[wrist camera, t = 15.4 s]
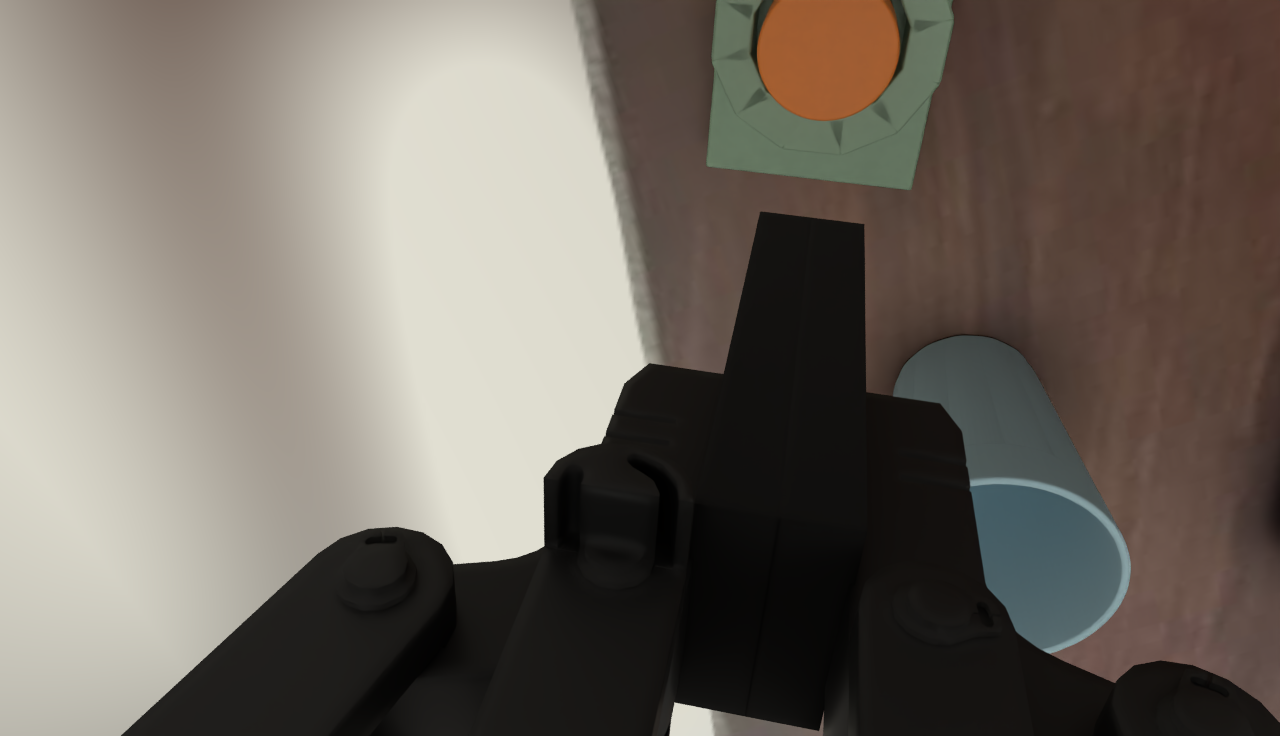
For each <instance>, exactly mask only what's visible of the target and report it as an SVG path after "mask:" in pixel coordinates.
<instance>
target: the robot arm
mask: <svg viewBox="0 0 1280 736" xmlns="http://www.w3.org/2000/svg"><path fill="white" fill-rule="evenodd" d="M966 462H967V460H966V454H965V447H964V441H963V434H962V431H961V429H960V428H959V427H958V426H957V424H956V423H955V422H954V420H953V419H952V418H951V417H950V415H949V414H948V413H947V411H946V410H945V409H944V408H943V406H942V405H941V404H940V403H935V402H928V401H922V400H915V399H908V398H901V397H894V396H888V395H881V394H874V393H867V392H866V345H865V247H864V224H858V223H850V222H842V221H834V220H826V219H817V218H809V217H801V216H793V215H785V214H777V213H768V212H760V215H759V220H758V224H757V229H756V233H755V238H754V242H753V246H752V251H751V255H750V260H749V264H748V269H747V273H746V277H745V282H744V286H743V291H742V295H741V300H740V304H739V309H738V313H737V317H736V322H735V326H734V331H733V335H732V340H731V344H730V348H729V353H728V357H727V362H726V366H725V371H724V374H718V373H712V372H705V371H698V370H691V369H684V368H678V367H671V366H664V365H657V364H650V363H649V364H648V365H647V366H646V367H644V368H643V369H642V370H641V371H639V372H638V373H637V374H636V375H634V376H633V377H632V378H631V379H630V380H628V381H627V382H626V383H625V384H624V386H623V389H622V392H621V394H620V397H619V399H618V402H617V405H616V407H615V411H614V415H612V418H611V420H610V423H609V425H608V428H607V431H606V436H605V437H604V438H603V441H602V443H601V444H599V445H594V446H590V447H585V448H581V449H578V450H576V451H574V452H572V453H570V454H568V455H567V456H565V457H563V458H561V459H559V460H558V461H556V463H555V464H554V465H553V467H552V468H551V469H550V470H549V472H548V473H547V474H546V476H545V477H544V542H545V546H544V547H542V548H541V549H539V550H537V551H535V552H532V553H529V554H527V555H523V556H521V557H518V558H512V559H506V560H500V561H492V562H479V563H466V564H453V562H452V560H451V558H450V557H449V555H448V554H447V552H446V550H445V549H444V547H443V545H442V544H440V543H439V542H437V541H435V540H434V539H432V538H431V537H429V536H428V535H426V534H424V533H423V532H418V531H413V530H409V529H404V528H399V527H389V528H375V529H367V530H364V531H361V532H358V533H355V534H352V535H349V536H346V537H343V538H341V539H339V540H338V541H336V542H335V543H333V544H332V545H330V546H329V547H327V548H326V549H324V550H323V551H321V552H320V553H318V554H317V555H316V556H315V557H314V558H313V559H312V560H311V561H310V562H308V563H307V564H306V565H305V566H304V567H303V568H302V569H301V570H300V571H299V572H298V573H297V574H295V575H294V576H293V577H292V578H291V579H290V580H289V581H288V582H287V583H286V584H285V585H283V586H282V588H280V589H279V590H278V591H277V592H276V593H275V594H274V595H273V596H272V597H271V598H269V599H268V600H267V601H266V602H265V603H264V604H263V605H262V606H261V607H260V608H259V609H258V610H256V612H254V613H253V614H252V615H251V616H250V617H249V618H248V619H247V620H246V621H245V622H243V623H242V625H240V626H239V627H238V628H237V629H236V630H235V631H234V632H233V633H232V634H231V635H229V636H228V637H227V638H226V639H225V640H224V641H223V642H222V643H221V644H220V645H219V646H217V647H216V648H215V649H214V650H213V651H212V652H211V653H210V654H209V655H208V656H207V657H206V658H204V659H203V660H202V661H201V662H200V663H199V664H198V665H197V666H196V667H195V668H194V669H193V670H192V671H190V672H189V673H188V674H187V675H186V676H185V677H184V678H183V679H182V680H181V681H180V682H179V683H178V684H176V685H175V686H174V687H173V688H172V689H171V690H170V691H169V692H168V693H167V694H166V695H165V696H163V697H162V698H161V699H160V700H159V701H158V702H157V703H156V704H155V705H154V706H153V707H151V708H150V709H149V710H148V711H147V712H146V713H145V714H144V715H143V716H142V717H141V718H140V719H139V720H137V721H136V722H135V723H134V724H133V725H132V726H131V727H130V728H129V729H128V730H127V731H126V732H124V733H123V734H122V735H121V736H669V734H670V724H671V717H672V712H673V707H674V702H675V703H680V704H685V705H691V706H696V707H701V708H706V709H711V710H716V711H721V712H726V713H731V714H736V715H741V716H746V717H751V718H756V719H761V720H766V721H771V722H777V723H782V724H787V725H792V726H797V727H802V728H807V729H812V730H817V731H819V729H820V725H821V721H822V717H823V712H824V728H823V736H1280V723H1279V722H1278V721H1277V719H1276V718H1275V717H1274V716H1273V715H1272V714H1271V713H1270V712H1269V711H1268V710H1267V709H1266V708H1265V707H1264V706H1263V704H1262V703H1261V702H1260V701H1258V700H1257V699H1255V698H1254V697H1252V696H1251V695H1249V694H1248V693H1247V692H1245V691H1244V690H1242V689H1241V688H1239V687H1238V686H1236V685H1235V684H1233V683H1232V682H1230V681H1229V680H1227V679H1225V678H1223V677H1220V676H1218V675H1215V674H1213V673H1210V672H1208V671H1205V670H1203V669H1201V668H1198V667H1196V666H1193V665H1187V664H1181V663H1174V662H1167V661H1155V662H1150V663H1145V664H1139V665H1134V666H1133V667H1132V668H1131V669H1129V670H1128V671H1127V672H1126V673H1125V674H1123V675H1122V676H1121V677H1120V678H1119V679H1118V680H1117V681H1116V683H1113V682H1111V681H1109V680H1106V679H1104V678H1102V677H1099V676H1097V675H1095V674H1092V673H1090V672H1088V671H1085V670H1083V669H1081V668H1078V667H1076V666H1074V665H1071V664H1069V663H1067V662H1064V661H1062V660H1060V659H1058V658H1056V657H1054V656H1052V655H1050V654H1049V653H1047V652H1045V651H1043V650H1041V649H1039V648H1037V647H1036V646H1035V645H1033V644H1032V643H1031V642H1029V641H1028V640H1026V639H1025V638H1024V637H1022V636H1021V635H1020V634H1018V633H1017V632H1016V631H1015V628H1014V626H1013V623H1012V621H1011V619H1010V616H1009V614H1008V612H1007V609H1006V607H1005V606H1004V605H1003V604H1002V603H1001V602H1000V601H999V599H998V598H997V597H996V596H995V595H994V594H993V593H992V592H991V591H990V590H989V589H988V588H987V586H986V583H985V576H984V570H983V563H982V557H981V550H980V544H979V538H978V531H977V525H976V518H975V512H974V505H973V499H972V492H970V479H969V473H968V467H966Z"/></svg>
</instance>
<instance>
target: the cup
mask: <svg viewBox="0 0 1280 736" xmlns="http://www.w3.org/2000/svg"><path fill="white" fill-rule="evenodd" d="M893 396H894V397H901V398H908V399H915V400H922V401H928V402H935V403H940V404H941V405H942V406H943V408H944V409H945V410H946V411H947V413H948V414H949V415H950V417H951V418H952V419H953V420H954V422H955V423H956V424H957V426H958V427H959V428H960V429H961V431H962V434H963V441H964V447H965V454H966V460H967V462H966V467H968V473H969V479H970V492H972V499H973V505H974V512H975V518H976V525H977V531H978V538H979V544H980V550H981V557H982V563H983V570H984V576H985V583H986V586H987V588H988V589H989V590H990V591H991V592H992V593H993V594H994V595H995V596H996V597H997V598H998V599H999V601H1000V602H1001V603H1002V604H1003V605H1004V606H1005V607H1006V609H1007V612H1008V614H1009V616H1010V619H1011V621H1012V623H1013V626H1014V628H1015V631H1016V632H1017V633H1018V634H1020V635H1021V636H1022V637H1024V638H1025V639H1026V640H1028V641H1029V642H1031V643H1032V644H1033V645H1035V646H1036V647H1037V648H1039V649H1041V650H1043V651H1045V652H1047V653H1049V654H1050V653H1053V652H1056V651H1059V650H1061V649H1064V648H1066V647H1069V646H1071V645H1074V644H1076V643H1077V642H1079V641H1081V640H1083V639H1085V638H1086V637H1088V636H1089V635H1091V634H1092V633H1094V632H1095V631H1096V630H1098V629H1099V628H1100V627H1101V626H1102V625H1103V624H1105V623H1106V622H1107V621H1108V620H1109V618H1110V617H1111V616H1112V615H1113V614H1114V613H1115V611H1116V610H1117V609H1118V607H1119V606H1120V604H1121V602H1122V600H1123V598H1124V596H1125V594H1126V591H1127V589H1128V585H1129V580H1130V572H1131V564H1130V556H1129V552H1128V549H1127V545H1126V543H1125V540H1124V538H1123V536H1122V534H1121V532H1120V530H1119V528H1118V527H1117V525H1116V523H1115V521H1114V519H1113V517H1112V515H1111V513H1110V512H1109V510H1108V508H1107V506H1106V504H1105V502H1104V500H1103V499H1102V497H1101V495H1100V493H1099V492H1098V490H1097V488H1096V486H1095V484H1094V482H1093V480H1092V479H1091V477H1090V475H1089V473H1088V471H1087V469H1086V467H1085V465H1084V463H1083V462H1082V460H1081V458H1080V456H1079V454H1078V452H1077V450H1076V448H1075V446H1074V445H1073V443H1072V441H1071V439H1070V437H1069V435H1068V433H1067V431H1066V429H1065V428H1064V426H1063V424H1062V422H1061V420H1060V418H1059V416H1058V414H1057V413H1056V411H1055V409H1054V407H1053V405H1052V403H1051V401H1050V399H1049V397H1048V396H1047V394H1046V392H1045V390H1044V388H1043V386H1042V384H1041V382H1040V381H1039V379H1038V377H1037V375H1036V373H1035V372H1034V370H1033V369H1032V367H1031V366H1030V365H1029V364H1028V362H1027V361H1026V359H1025V358H1024V357H1023V355H1022V354H1021V353H1020V352H1018V351H1017V350H1016V349H1014V348H1012V347H1010V346H1009V345H1007V344H1005V343H1003V342H1000V341H998V340H996V339H993V338H989V337H983V336H968V335H962V336H954V337H950V338H946V339H943V340H940V341H937V342H934V343H932V344H929V345H927V346H926V347H924V348H923V349H921V350H920V351H919V352H917V353H916V354H915V355H914V356H913V357H912V358H910V359H909V360H908V361H907V362H906V364H905V365H904V366H903V368H902V370H901V372H900V375H899V377H898V379H897V381H896V383H895V387H894V391H893Z"/></svg>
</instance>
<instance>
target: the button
mask: <svg viewBox="0 0 1280 736" xmlns="http://www.w3.org/2000/svg"><path fill="white" fill-rule="evenodd" d="M899 53H900V37H899V30H898V23H897V17H896V14H895V10H894V7H893V5H892V3H891V1H890V0H774V1H773V3H772V4H771V6H770V8H769V10H768V12H767V15H766V17H765V20H764V22H763V25H762V28H761V31H760V34H759V39H758V44H757V61H758V67H759V72H760V75H761V78H762V81H763V83H764V85H765V87H766V89H767V90H768V91H769V93H770V94H771V96H772V97H773V98H774V99H775V100H776V101H777V102H778V103H779V104H780V105H781V106H782V107H783V108H785V109H786V110H788V111H790V112H791V113H793V114H795V115H797V116H800V117H803V118H806V119H810V120H816V121H832V120H838V119H843V118H846V117H849V116H852V115H854V114H856V113H858V112H860V111H862V110H863V109H865V108H867V107H868V106H869V105H871V104H872V103H873V102H874V101H875V100H876V99H877V98H878V97H879V96H880V95H881V94H882V93H883V92H884V90H885V89H886V87H887V86H888V85H889V83H890V81H891V79H892V77H893V75H894V72H895V70H896V67H897V63H898V60H899Z"/></svg>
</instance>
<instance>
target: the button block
mask: <svg viewBox="0 0 1280 736" xmlns="http://www.w3.org/2000/svg"><path fill="white" fill-rule="evenodd" d="M773 1H774V0H716V8H715V20H714V31H713V43H712V54H711V58H712V64H713V67H714V69H715V70H714V81H713V93H712V104H711V115H710V126H709V137H708V148H707V159H706V166H708V167H715V168H724V169H732V170H741V171H750V172H758V173H767V174H775V175H784V176H792V177H801V178H810V179H818V180H827V181H835V182H844V183H852V184H861V185H870V186H878V187H887V188H895V189H904V190H911V189H912V185H913V180H914V176H915V171H916V167H917V162H918V157H919V153H920V148H921V144H922V139H923V135H924V130H925V126H926V121H927V116H928V112H929V107H930V103H931V98H932V94H933V92H934V91H935V90H936V89H937V87H938V86H939V83H940V82H941V79H942V75H943V70H944V66H945V61H946V57H947V52H948V48H949V43H950V39H951V34H952V30H953V25H954V15H953V12H952V9H951V7H952V2H953V0H890V1H891V3H892V5H893V7H894V10H895V14H896V17H897V23H898V30H899V37H900V53H899V60H898V63H897V67H896V70H895V72H894V75H893V77H892V79H891V81H890V83H889V85H888V86H887V87H886V89H885V90H884V92H883V93H882V94H881V95H880V96H879V97H878V98H877V99H876V100H875V101H874V102H873V103H872V104H871V105H869V106H868V107H867V108H865V109H863V110H862V111H860V112H858V113H856V114H854V115H852V116H849V117H846V118H843V119H838V120H832V121H816V120H810V119H806V118H803V117H800V116H797V115H795V114H793V113H791V112H790V111H788V110H786V109H785V108H783V107H782V106H781V105H780V104H779V103H778V102H777V101H776V100H775V99H774V98H773V97H772V96H771V94H770V93H769V91H768V90H767V89H766V87H765V85H764V83H763V81H762V78H761V75H760V72H759V67H758V61H757V44H758V39H759V34H760V31H761V28H762V25H763V22H764V20H765V17H766V15H767V12H768V10H769V8H770V6H771V4H772V3H773Z"/></svg>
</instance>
